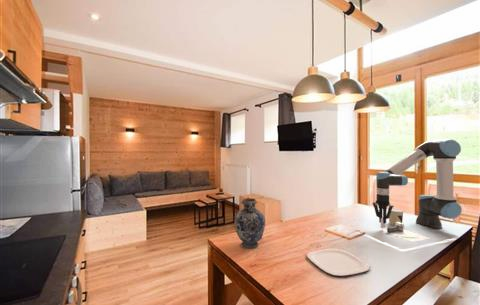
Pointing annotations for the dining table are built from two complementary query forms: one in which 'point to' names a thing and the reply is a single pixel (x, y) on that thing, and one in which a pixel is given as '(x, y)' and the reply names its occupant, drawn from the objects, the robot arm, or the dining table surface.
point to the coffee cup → (396, 216)
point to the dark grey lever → (396, 227)
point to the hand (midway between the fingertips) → (382, 227)
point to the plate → (337, 262)
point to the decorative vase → (249, 224)
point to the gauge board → (407, 235)
